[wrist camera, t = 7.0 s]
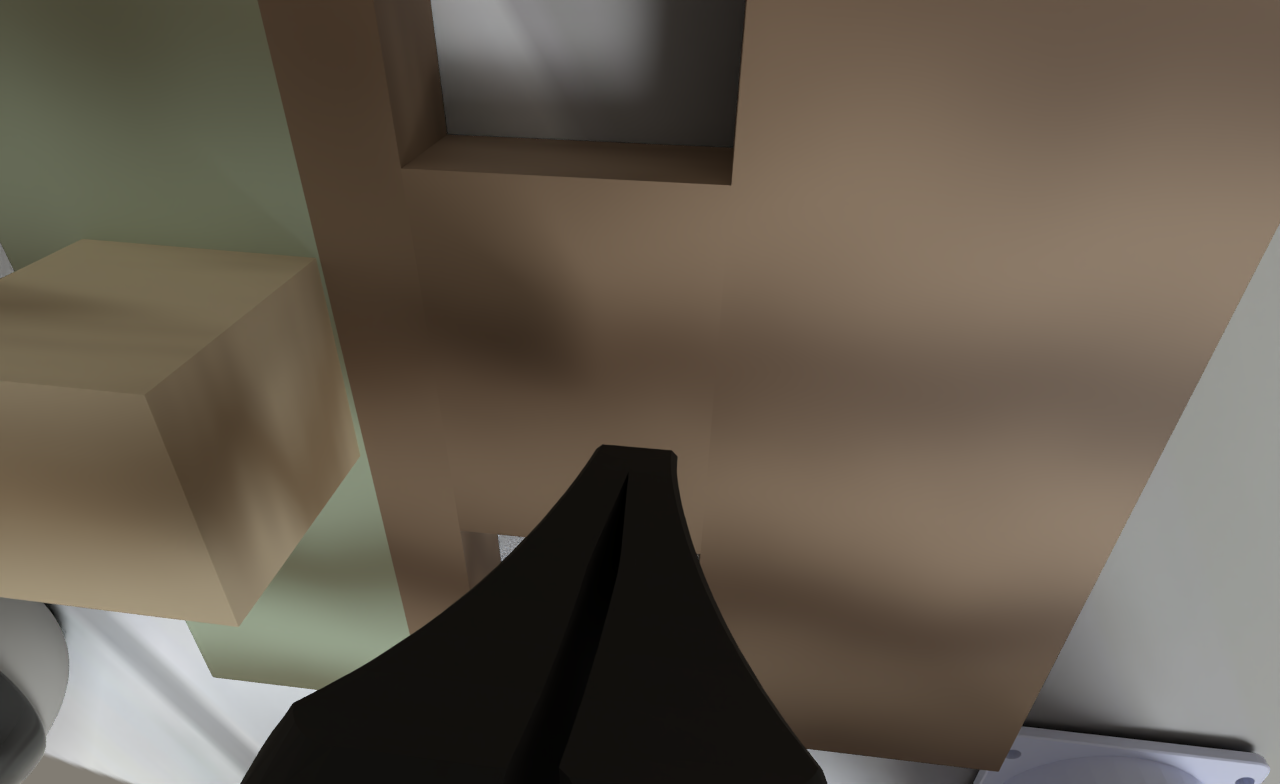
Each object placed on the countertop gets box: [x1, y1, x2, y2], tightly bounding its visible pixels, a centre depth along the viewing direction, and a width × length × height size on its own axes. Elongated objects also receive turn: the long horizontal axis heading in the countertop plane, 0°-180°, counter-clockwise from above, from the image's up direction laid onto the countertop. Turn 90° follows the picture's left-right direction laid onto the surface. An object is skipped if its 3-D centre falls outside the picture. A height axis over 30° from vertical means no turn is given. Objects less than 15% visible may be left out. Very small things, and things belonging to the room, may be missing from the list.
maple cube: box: [0, 239, 360, 627], centre depth 14 cm, size 5×5×5 cm
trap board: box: [0, 0, 1280, 772], centre depth 17 cm, size 24×24×2 cm
